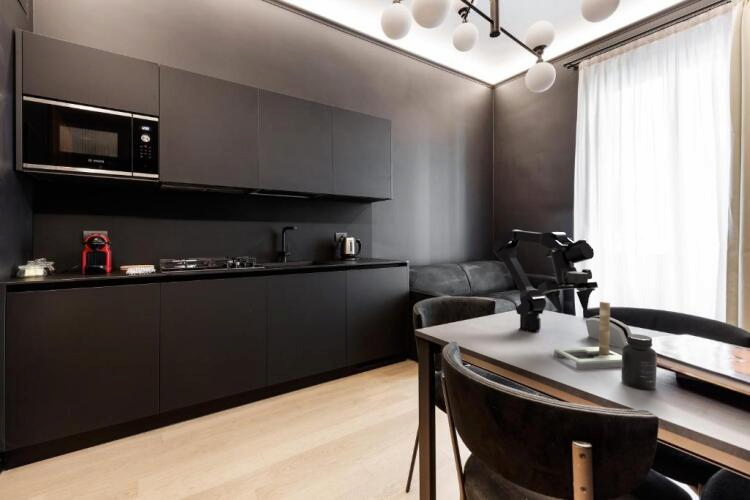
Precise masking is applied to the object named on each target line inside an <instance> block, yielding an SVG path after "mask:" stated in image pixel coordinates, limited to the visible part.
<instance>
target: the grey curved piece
mask: <svg viewBox="0 0 750 500" xmlns="http://www.w3.org/2000/svg"><path fill="white" fill-rule="evenodd" d="M599 322H600V315H593V316H591V317H589V318H587V319H586V320H585V326H586V330H587V333H588V337H590V338H592V339H595V340H598V341H599ZM629 327H630V326H628V325H627V324H625V323H624V322H622V321H620V320H617V319H615V318H614V317H610V337H609V345H611V346H613V347H616V348H619V349H621V350H622V348H623V347H624V346H625V345H626V342H627V336H628V335H629V334H632V331H631V329H630V328H629Z"/></svg>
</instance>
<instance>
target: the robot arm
mask: <svg viewBox="0 0 750 500" xmlns="http://www.w3.org/2000/svg"><path fill="white" fill-rule="evenodd" d="M520 241H522V242H526V243H527V242H530V243H535V244H539V245H540V246H541V247H544V248H547V249H549V250H548V252H547V253H546V254H545V258H551V261H552V266H553V269H554V270H553V271H551V273H552V275H554V276H555V278H556V279H555V280H556V281H548V282H543V283H540V284H538V286H537V289H536V288H534V287H533V285H532V284H531V282H530V280H529V278H528V276H527V274H526V273H525V271H524V269H523V267H522V266H521V264H520V262H519V260H518V258H517V249H516V248H517V247H518V246H519V245H520V244H519V243H520ZM554 249H556V250H554ZM492 251H493V252H494V254H495V255H496V257H497V258H498V259H500V261H503V262H504V264H505V266H506V268H507V270H508V273H510V276H511V277H512V279H513V281H514V283H515V285H516V287H517V289H518V290H519V292H520V293H519V300H520V304H519V305H517V307H516V308H515V310H516V314H517V315H519V316H520V317H519V327H518V330H519V331H525V332H531V333H537V332H539V331H540V330H541V329H542V327H541V324H542V323H541V321H542V319H541V318H540V315H543V313H544V310H545V308H546V306H547V305H546V304H547V301H546V299H548V300H549V302H550V303H551V304H552V305H553V307H554V308H555V309H556V311H557V312H558V313H560V314H561V313H563V311H562V310H563V309H562V304H561V299H560V293H561V291H560V290H573V289H575V290H577V291H576V292H575V293H576V295H577V298H578V301H579V303H580V305H581V308H582V310H583V311H584V312H587V311H588V308H589V307H588V306H589V299H590V297H591V293H592V292H594V291H595V290H596V289H597V288H599V286H598V285H599V284H598V282H597V281H596V280H595V279H593V273H592V270H591V269H588V268H587V269H586V268H584V269H581V271H578V270H577V268H576V267H574V266H573V265H572V264H577V263H581V262H583V261H588V260H592V259H593V258H594V254H595V252H594V248H593V247H592V246H591V245H590V244H589V243H588V242H587V240H586V239H585V238H584V239H578V240H577V241H575V242H574V241H573V240H571V239H570V238H569V237H568V235H567V233H566V232H562V231H561V232H559V231H555V232H554V231H552V232H537V231H535V232H534V231H528V230H527V231H526V230H521V229H511V230H509V231H508V232H507V233H506V234H504V235H502V236H501V237H499V238H498V239H497V240H496V241H495V242H494V243H493V246H492Z"/></svg>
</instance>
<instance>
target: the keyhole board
mask: <svg viewBox="0 0 750 500" xmlns="http://www.w3.org/2000/svg"><path fill="white" fill-rule="evenodd" d="M553 350H554V351H553V353H554V354H553V356H554V357H556V358H562V357H564V358H567V359H569V360H570V361H573V362H575V366H576V369H578V370H592V369H608V368H609V369H610V368H622V354H619V353H617V352H614V351H612V350H610V349H609V355H604V356H598V358H594V357H593V358H592V357H591V358H578V357H582V356H583V357H584V356H595V355H599V346H586V347H585V346H584V347H583V346H582V347H564V348H554V349H553Z"/></svg>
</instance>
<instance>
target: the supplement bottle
mask: <svg viewBox="0 0 750 500" xmlns="http://www.w3.org/2000/svg"><path fill="white" fill-rule="evenodd" d="M627 343H628V345H625V346H624V347H623V348H622V349H621V355H622V367H621V376H620V377H621V382H622V383H623V384H624V385H625V386H627V387H630V388H632V389H636V390H641V391H652V390H655V389H656V388H657V373H658V372H657V371H658V370H657V367H658V363H657V362H658V354H657V352H656V350H655V349H653V339H652V337H651V336H649V335H644V334H638V333H631V334H629V335H628V336H627Z"/></svg>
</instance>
